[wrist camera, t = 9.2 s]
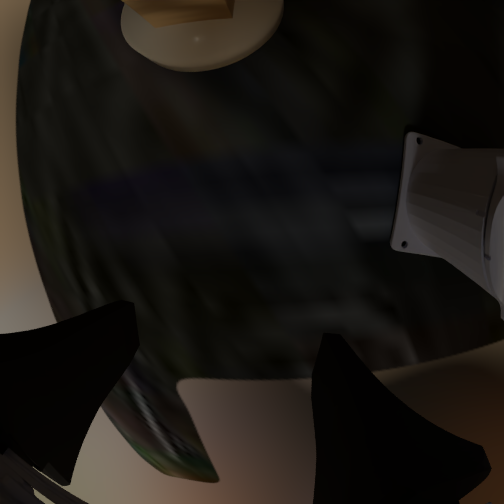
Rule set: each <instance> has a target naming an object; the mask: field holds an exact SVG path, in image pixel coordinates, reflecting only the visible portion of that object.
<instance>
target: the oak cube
mask: <svg viewBox="0 0 504 504" xmlns="http://www.w3.org/2000/svg"><path fill="white" fill-rule="evenodd" d="M122 1H123V2H124V3H125V4H127V5H128V6H129V7H130V8H132V9H133V10H134V11H135V12H137V13H138V14H139V15H140V16H142V17H143V18H144V19H145V20H146V21H148V22H149V23H150V24H151V25H152V26H153V27H155V28H159V27H164V26H169V25H175V24H181V23H188V22H196V21H204V20H215V19H229V18H233V11H234V3H235V0H122Z"/></svg>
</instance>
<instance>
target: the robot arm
mask: <svg viewBox="0 0 504 504" xmlns="http://www.w3.org/2000/svg"><path fill="white" fill-rule="evenodd" d="M417 138H419V139H420V144H418V143H417V141H416V139H417ZM403 241H406V244H405V246H404V247H402V246H401V244H402V242H403ZM390 245H391V247H392V248H393V249H394V250H396V251H402V252H409V253H416V254H422V255H429V256H435V257H441V258H444V259H445V260H446V261H448V262H449V263H451V264H452V265H453V266H455V267H456V268H458V269H459V270H460V271H462V272H463V273H464V274H466V275H467V276H468V277H470V278H471V279H472V280H473V281H475V282H476V283H477V284H479V285H480V286H481V287H482V288H484V289H485V290H486V291H487V292H489V293H490V294H491V295H492V296H493V297H495V298H496V299H497V300H498V302H499V303H500V306H501V318H502V319H503V320H504V149H497V148H469V149H462V148H460V147H457V146H455V145H452V144H449V143H446V142H444V141H441V140H438V139H435V138H432V137H429V136H426V135H422V134H419V133H416V132H408V133H407V134H406V135H405V141H404V153H403V163H402V172H401V180H400V188H399V195H398V201H397V207H396V213H395V219H394V225H393V230H392V235H391V240H390ZM139 345H140V343H139V337H138V330H137V323H136V315H135V307H134V303H132V302H128V301H123V300H120V301H116V302H113V303H110V304H107V305H104V306H102V307H99V308H97V309H94V310H91V311H89V312H86V313H84V314H81V315H79V316H76V317H73V318H70V319H67V320H64V321H61V322H59V323H56V324H52V325H49V326H46V327H42V328H37V329H34V330H29V331H22V332H15V333H8V334H0V504H45V503H43V502H42V501H41V500H39V499H38V498H37V497H36V496H35V495H34V490H33V488H34V489H35V490H37V491H38V492H40V493H41V494H42V495H44V496H45V497H46V498H48V499H49V500H51V501H52V502H53V503H55V504H88V503H87V502H85V501H83V500H81V499H79V498H78V497H76V496H74V495H72V494H71V493H69V492H68V491H66V490H64V489H63V488H61V487H60V486H58V485H57V484H55V483H54V482H52V481H51V480H49V479H48V478H46V477H45V476H44V475H42V474H41V473H39V472H38V471H40V472H42V473H44V474H45V475H47V476H48V477H49V478H51V479H52V480H54V481H55V482H57V483H58V484H60V485H62V486H67V485H70V483H71V478H72V475H73V471H74V467H75V463H76V460H77V457H78V455H79V452H80V449H81V446H82V443H83V441H84V439H85V436H86V434H87V432H88V430H89V427H90V425H91V423H92V421H93V419H94V417H95V415H96V413H97V411H98V409H99V407H100V406H101V404H102V403H103V401H104V400H105V398H106V397H107V395H108V394H109V393H110V391H111V390H112V388H113V387H114V386H115V384H116V383H117V381H118V380H119V379H120V377H121V376H122V374H123V373H124V372H125V370H126V369H127V367H128V366H129V364H130V363H131V361H132V359H133V357H134V355H135V353H136V351H137V349H138V347H139ZM311 399H312V409H313V419H314V428H315V439H316V457H317V458H316V476H315V488H314V499H313V504H459V500H460V499H461V498H463V497H464V496H465V495H467V494H468V493H469V492H470V491H472V490H473V489H474V488H476V487H477V486H478V485H479V484H480V483H481V482H482V481H484V480H485V479H486V477H487V476H488V475H489V473H490V471H491V469H492V468H491V466H490V463H489V461H488V458H487V456H486V453H485V451H484V449H483V447H482V446H481V445H478V444H475V443H472V442H470V441H467V440H465V439H462V438H460V437H457V436H455V435H453V434H451V433H449V432H447V431H445V430H443V429H442V428H440V427H438V426H436V425H434V424H433V423H431V422H429V421H428V420H426V419H425V418H424V417H422V416H421V415H419V414H418V413H416V412H415V411H413V410H412V409H410V408H409V407H408V406H407V405H405V404H404V403H403V402H402V401H401V400H399V399H398V398H397V397H396V396H395V395H394V394H392V393H391V392H390V391H389V390H388V389H387V388H386V387H385V386H384V385H383V384H382V383H381V382H380V381H379V380H378V379H377V378H376V377H375V376H374V374H373V373H372V372H371V371H370V370H369V369H368V368H367V367H366V365H365V364H364V363H363V362H362V361H361V360H360V358H359V357H358V356H357V355H356V353H355V352H354V351H353V350H352V349H351V347H350V346H349V345H348V343H347V342H346V341H345V340H344V339H343V337H342V336H341V335H340V334H330V333H323V337H322V341H321V345H320V348H319V352H318V355H317V359H316V362H315V366H314V369H313V372H312V392H311ZM33 467H34V468H36V469H37V470H38V471H37V470H35V469H34V468H33ZM31 486H32V487H33V488H32V487H31ZM487 504H492V503H491V502H488V503H487Z"/></svg>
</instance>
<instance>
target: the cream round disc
mask: <svg viewBox="0 0 504 504" xmlns="http://www.w3.org/2000/svg"><path fill="white" fill-rule="evenodd" d="M283 12H284V0H235V3H234V11H233V18H229V19H215V20H204V21H196V22H188V23H181V24H175V25H169V26H164V27H159V28H155V27H153V26H152V25H151V24H150V23H149V22H148V21H146V20H145V19H144V18H143V17H142V16H140V15H139V14H138V13H137V12H135V11H134V10H133V9H132V8H130V7H129V6H128V5H127V4H125V5H124V7H123V11H122V15H121V29H122V33H123V36H124V38H125V40H126V41H127V43H128V44H129V45H130V46H131V47H132V48H133V49H135V50H136V51H137V52H139V53H140V54H142V55H144V56H145V57H147V58H148V59H150V60H151V61H153V62H154V63H156V64H158V65H160V66H162V67H164V68H167V69H170V70H175V71H182V72H199V71H207V70H212V69H217V68H220V67H224V66H227V65H230V64H232V63H235V62H237V61H239V60H241V59H243V58H245V57H247V56H249V55H250V54H252V53H253V52H255V51H256V50H258V49H259V48H260V47H261V46H263V45H264V44H265V43H266V42H267V41H268V40H269V39H270V38H271V37H272V35H273V34H274V33H275V31H276V30H277V28H278V26H279V25H280V23H281V20H282V17H283Z"/></svg>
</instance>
